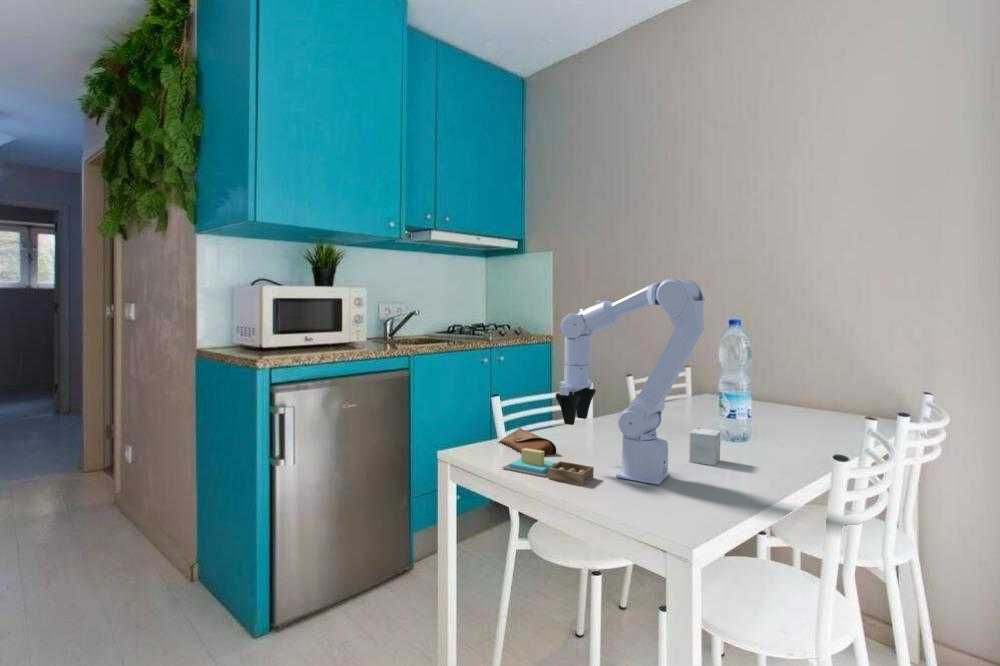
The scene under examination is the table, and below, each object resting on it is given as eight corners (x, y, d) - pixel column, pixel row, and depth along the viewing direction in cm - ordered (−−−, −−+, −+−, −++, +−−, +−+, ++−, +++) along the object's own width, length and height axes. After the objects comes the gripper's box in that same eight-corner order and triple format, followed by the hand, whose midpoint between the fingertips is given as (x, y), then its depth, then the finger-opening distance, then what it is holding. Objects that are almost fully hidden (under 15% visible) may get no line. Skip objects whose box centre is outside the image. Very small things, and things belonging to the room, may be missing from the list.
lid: (555, 466, 123) (556, 449, 123) (542, 473, 117) (543, 456, 117) (523, 460, 127) (523, 444, 127) (509, 467, 122) (509, 450, 122)
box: (593, 477, 116) (593, 466, 116) (582, 485, 111) (582, 474, 110) (559, 471, 120) (560, 461, 120) (548, 478, 115) (548, 467, 115)
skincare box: (715, 466, 125) (716, 435, 124) (688, 462, 128) (689, 432, 127) (720, 460, 130) (721, 430, 129) (694, 456, 133) (695, 427, 133)
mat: (562, 466, 123) (562, 465, 123) (545, 477, 116) (545, 476, 116) (521, 459, 129) (521, 458, 129) (501, 468, 121) (501, 467, 121)
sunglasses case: (494, 441, 145) (505, 419, 147) (513, 451, 148) (523, 430, 150) (528, 458, 130) (540, 433, 131) (548, 469, 133) (560, 445, 134)
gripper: (573, 360, 134) (572, 414, 135) (547, 366, 122) (547, 424, 122) (600, 362, 130) (599, 417, 131) (576, 368, 118) (575, 428, 119)
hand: (575, 421), depth 127 cm, fingers open, 7 cm apart
